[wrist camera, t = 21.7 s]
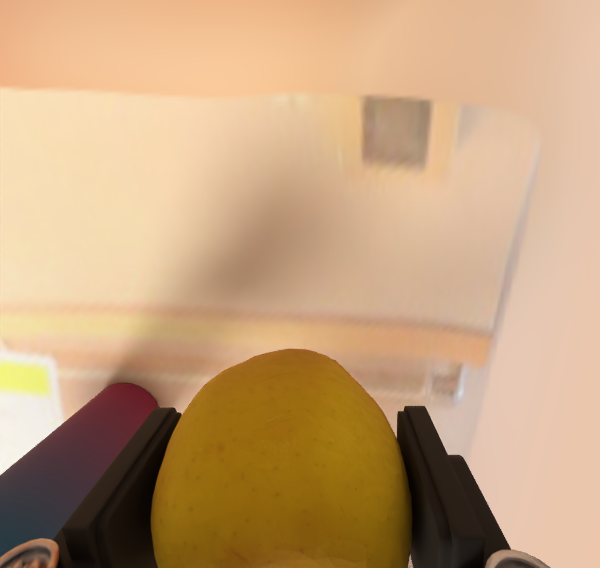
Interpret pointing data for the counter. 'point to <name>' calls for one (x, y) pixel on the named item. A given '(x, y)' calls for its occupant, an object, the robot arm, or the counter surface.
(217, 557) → the apple
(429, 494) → the robot arm
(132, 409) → the cup
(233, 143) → the counter surface
